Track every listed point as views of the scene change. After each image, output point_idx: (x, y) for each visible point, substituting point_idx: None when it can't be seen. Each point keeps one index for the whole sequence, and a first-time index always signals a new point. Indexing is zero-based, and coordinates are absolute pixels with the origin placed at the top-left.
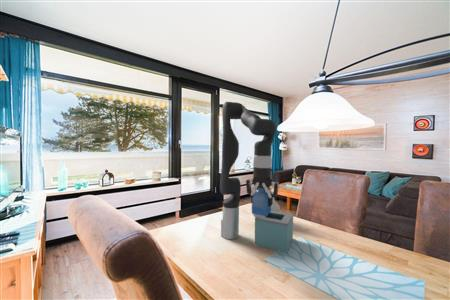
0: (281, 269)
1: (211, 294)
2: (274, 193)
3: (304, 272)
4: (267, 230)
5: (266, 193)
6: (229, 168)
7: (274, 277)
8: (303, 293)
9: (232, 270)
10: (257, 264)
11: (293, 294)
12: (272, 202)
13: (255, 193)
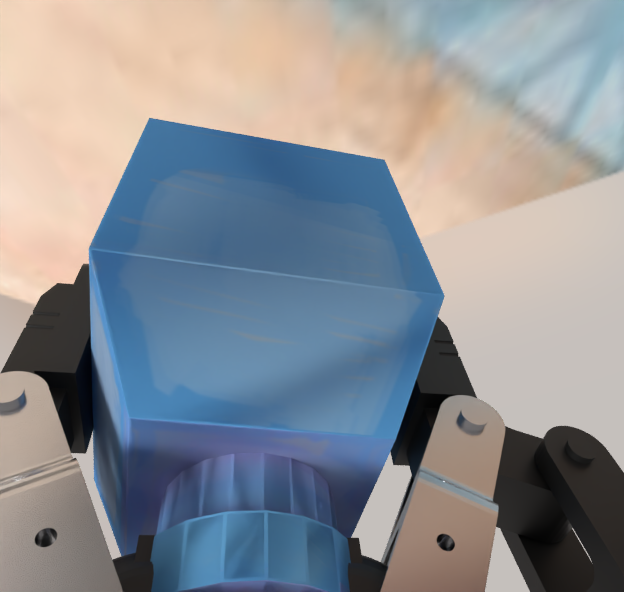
0: (396, 38)
1: None
2: (544, 573)
3: (541, 18)
4: None
5: (364, 504)
6: None
7: (355, 137)
8: (488, 204)
9: (111, 160)
10: (234, 37)
11: (442, 225)
12: (450, 352)
13: (125, 554)
